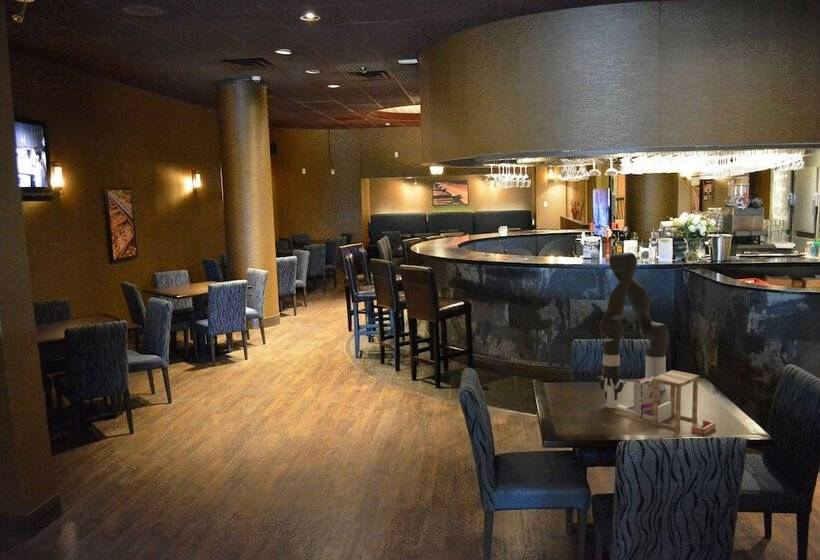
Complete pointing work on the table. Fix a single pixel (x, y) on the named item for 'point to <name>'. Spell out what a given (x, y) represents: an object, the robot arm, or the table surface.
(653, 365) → the robot arm
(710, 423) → the tray
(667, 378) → the tunnel
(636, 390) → the candy bar box
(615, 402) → the sled
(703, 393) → the table surface
